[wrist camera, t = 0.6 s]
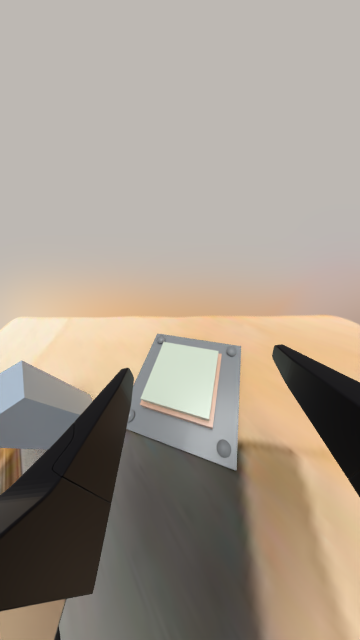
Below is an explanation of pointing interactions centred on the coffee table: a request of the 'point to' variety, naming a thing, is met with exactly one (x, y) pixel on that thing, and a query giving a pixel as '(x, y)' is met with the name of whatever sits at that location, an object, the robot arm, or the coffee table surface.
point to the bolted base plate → (189, 397)
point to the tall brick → (36, 407)
